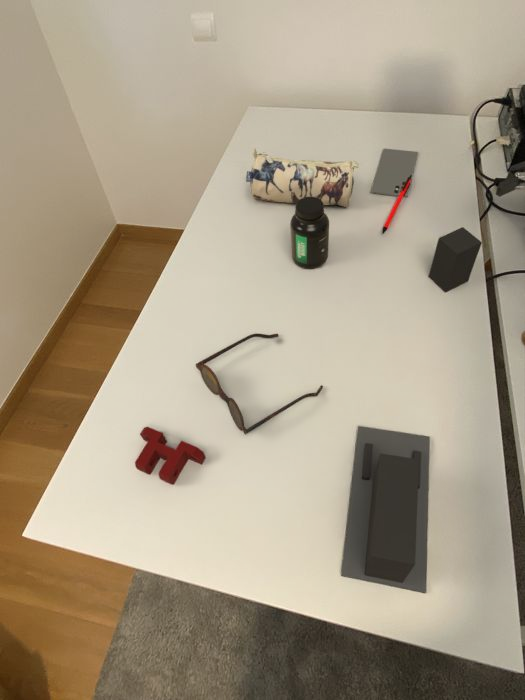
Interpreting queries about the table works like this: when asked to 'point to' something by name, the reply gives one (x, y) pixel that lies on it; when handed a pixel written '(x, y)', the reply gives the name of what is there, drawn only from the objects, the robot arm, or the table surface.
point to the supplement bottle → (309, 233)
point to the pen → (396, 204)
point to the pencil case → (301, 180)
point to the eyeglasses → (234, 410)
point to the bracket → (166, 455)
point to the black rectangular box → (454, 259)
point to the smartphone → (394, 172)
